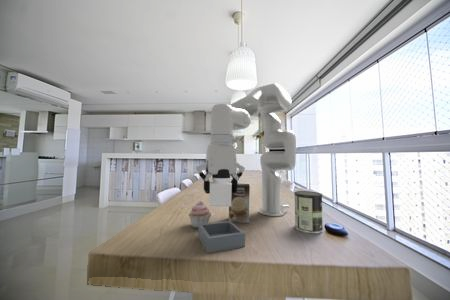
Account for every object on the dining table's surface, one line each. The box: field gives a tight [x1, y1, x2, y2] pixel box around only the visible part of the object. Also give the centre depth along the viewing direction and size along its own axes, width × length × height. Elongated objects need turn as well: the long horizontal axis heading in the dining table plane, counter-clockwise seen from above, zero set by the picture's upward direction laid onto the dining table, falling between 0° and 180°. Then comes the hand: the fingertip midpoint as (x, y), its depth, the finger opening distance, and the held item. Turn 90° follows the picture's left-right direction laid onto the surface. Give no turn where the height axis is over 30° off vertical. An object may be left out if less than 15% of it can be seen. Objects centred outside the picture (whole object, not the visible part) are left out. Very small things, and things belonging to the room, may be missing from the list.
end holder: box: [197, 220, 246, 254], centre depth 60 cm, size 12×12×4 cm
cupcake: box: [188, 200, 212, 229], centre depth 74 cm, size 9×9×10 cm
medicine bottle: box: [208, 169, 232, 207], centre depth 61 cm, size 7×7×12 cm
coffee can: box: [293, 190, 324, 235], centre depth 73 cm, size 10×10×14 cm
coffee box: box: [228, 183, 251, 224], centre depth 82 cm, size 9×6×16 cm
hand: (220, 192), depth 61 cm, fingers closed on medicine bottle, 9 cm apart
